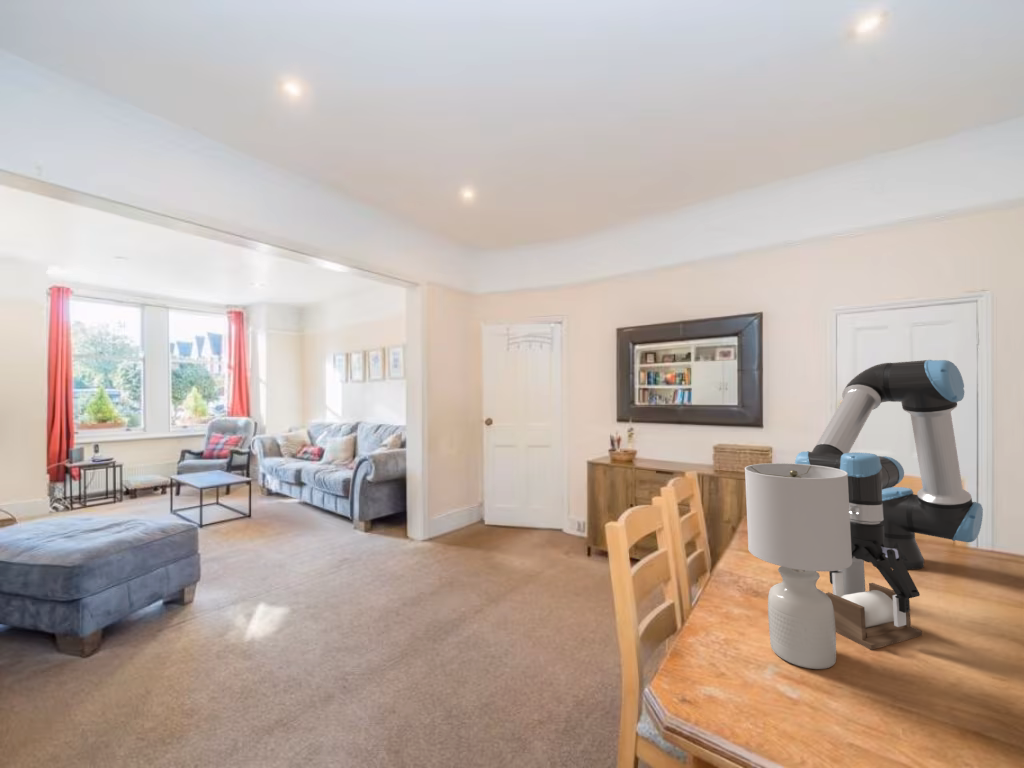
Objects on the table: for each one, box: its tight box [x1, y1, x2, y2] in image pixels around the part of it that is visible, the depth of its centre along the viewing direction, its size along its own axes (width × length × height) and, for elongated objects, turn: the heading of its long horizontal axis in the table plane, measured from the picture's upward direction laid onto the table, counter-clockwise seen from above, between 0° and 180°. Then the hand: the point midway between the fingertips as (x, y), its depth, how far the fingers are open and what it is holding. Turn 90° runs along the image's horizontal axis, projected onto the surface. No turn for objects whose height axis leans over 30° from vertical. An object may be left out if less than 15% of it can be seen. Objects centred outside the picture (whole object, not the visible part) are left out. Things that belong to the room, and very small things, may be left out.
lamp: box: [744, 462, 852, 670], centre depth 97 cm, size 19×19×39 cm
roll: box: [842, 590, 894, 628], centre depth 105 cm, size 9×7×7 cm
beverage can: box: [838, 557, 866, 595], centre depth 121 cm, size 6×6×12 cm
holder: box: [825, 582, 923, 650], centre depth 105 cm, size 16×12×8 cm
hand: (867, 611), depth 105 cm, fingers open, 13 cm apart
